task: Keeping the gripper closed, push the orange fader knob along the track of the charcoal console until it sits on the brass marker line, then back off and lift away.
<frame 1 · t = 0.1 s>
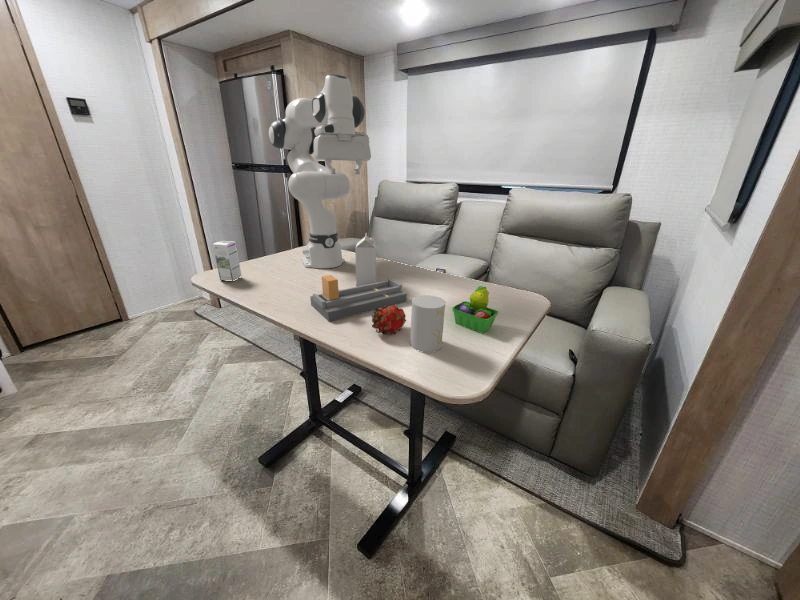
hand: (345, 174, 114), 39 cm above the table, tool pointing down, fingers open, 8 cm apart
syrup box: (231, 279, 125), on the table
dragon fruit: (389, 331, 90), on the table
fruit basket: (473, 325, 95), on the table
cup: (425, 344, 84), on the table
fader: (330, 289, 99), point 7 cm above the table, slide at -10.0 cm
milk carton: (366, 284, 124), on the table
console: (359, 303, 107), on the table
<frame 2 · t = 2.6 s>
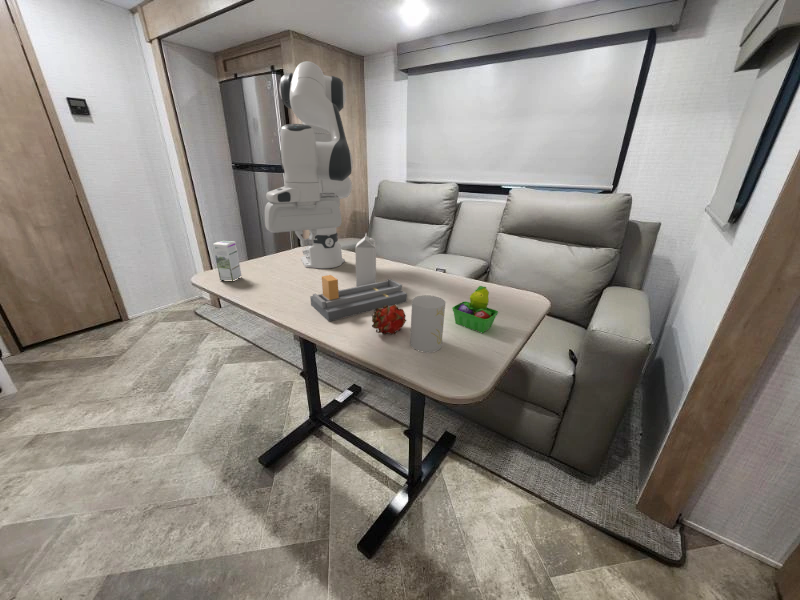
hand: (307, 245, 90), 21 cm above the table, tool pointing down, fingers closed
nothing on the table moved.
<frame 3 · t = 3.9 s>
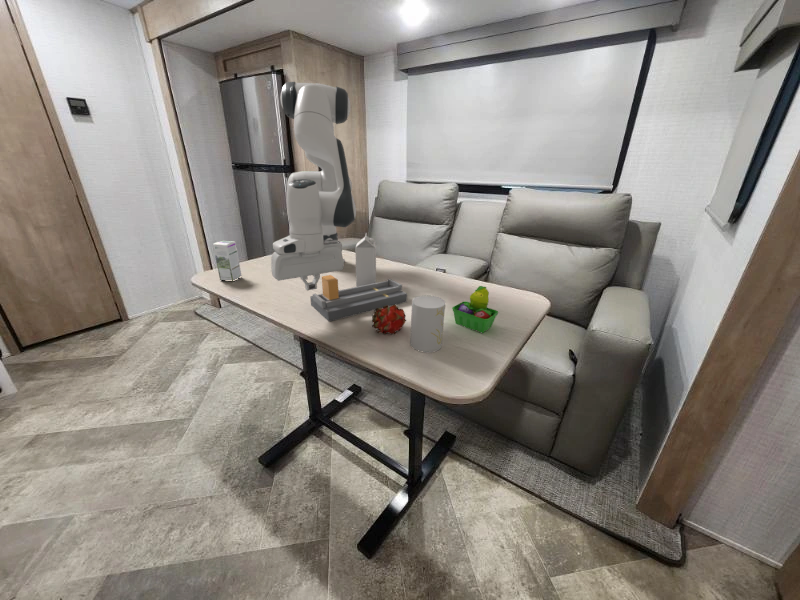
hand: (311, 289, 95), 8 cm above the table, tool pointing down, fingers closed
nothing on the table moved.
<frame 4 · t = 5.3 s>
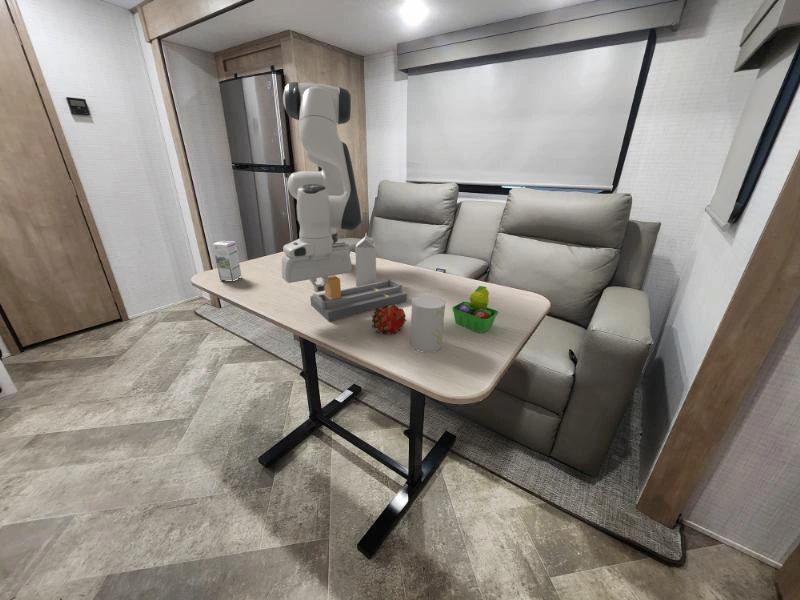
hand: (319, 291, 97), 7 cm above the table, tool pointing down, fingers closed
fader: (332, 288, 99), point 7 cm above the table, slide at -9.2 cm, touching gripper
everything else where it was.
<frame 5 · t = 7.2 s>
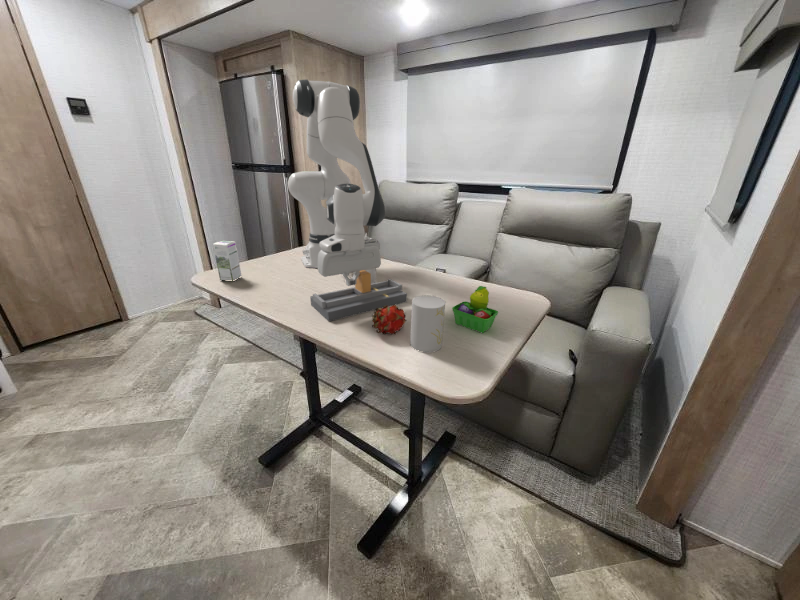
hand: (351, 284, 103), 7 cm above the table, tool pointing down, fingers closed
fader: (362, 282, 105), point 7 cm above the table, slide at 1.3 cm, touching gripper
everything else where it was.
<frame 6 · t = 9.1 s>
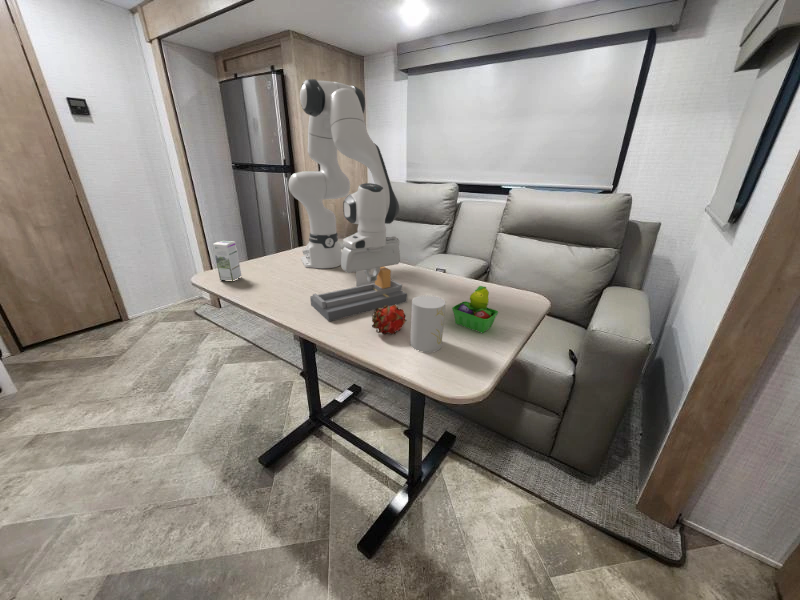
hand: (372, 280, 107), 7 cm above the table, tool pointing down, fingers closed
fader: (382, 278, 109), point 7 cm above the table, slide at 8.9 cm, touching gripper
everything else where it was.
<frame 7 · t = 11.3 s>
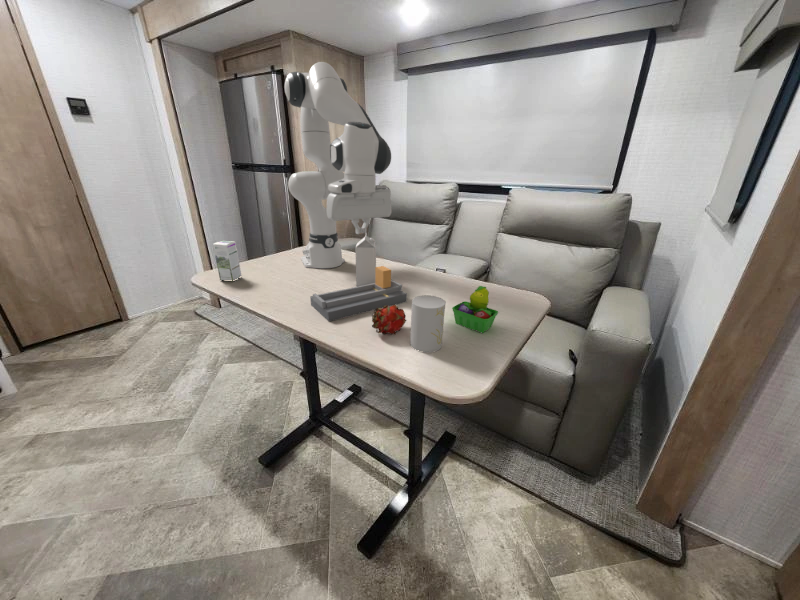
hand: (361, 233, 99), 23 cm above the table, tool pointing down, fingers closed
fader: (383, 278, 109), point 7 cm above the table, slide at 9.0 cm
everything else where it was.
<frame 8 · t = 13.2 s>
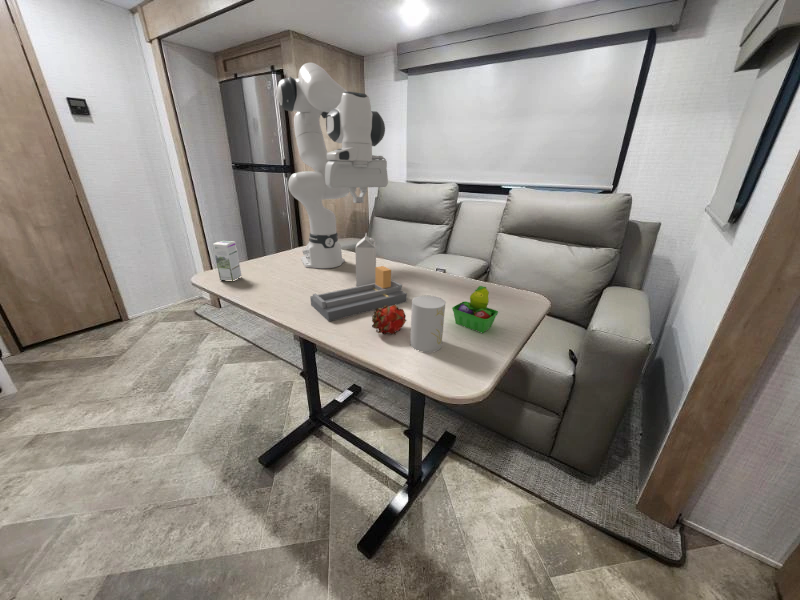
hand: (358, 202, 102), 31 cm above the table, tool pointing down, fingers closed
nothing on the table moved.
at the end: fader slide at 9.0 cm; the gripper is holding nothing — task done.
